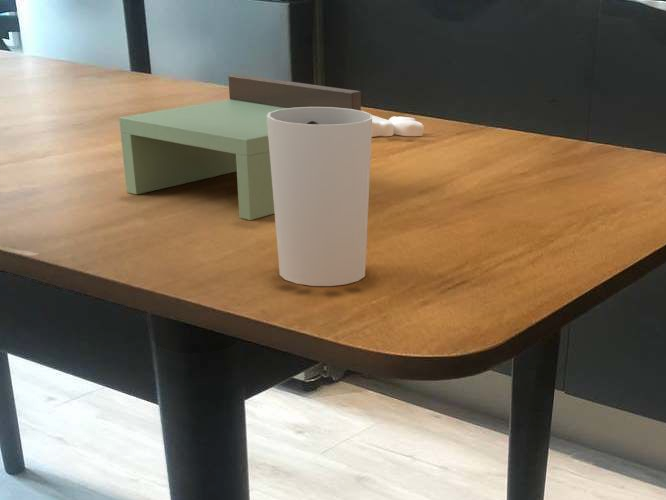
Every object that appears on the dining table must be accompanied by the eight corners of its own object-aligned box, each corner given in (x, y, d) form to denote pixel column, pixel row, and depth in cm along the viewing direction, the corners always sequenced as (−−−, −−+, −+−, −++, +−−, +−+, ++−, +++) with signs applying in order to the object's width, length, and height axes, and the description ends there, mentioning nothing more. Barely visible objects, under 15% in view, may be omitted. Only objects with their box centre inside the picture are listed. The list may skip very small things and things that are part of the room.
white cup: (252, 276, 72) (244, 116, 67) (312, 253, 76) (308, 103, 72) (334, 294, 69) (332, 129, 64) (391, 269, 74) (393, 114, 69)
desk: (250, 220, 84) (245, 111, 80) (126, 192, 91) (115, 90, 87) (361, 189, 94) (361, 91, 90) (242, 166, 101) (237, 74, 97)
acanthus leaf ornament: (423, 137, 116) (424, 118, 115) (364, 140, 114) (364, 122, 113) (396, 124, 122) (397, 106, 121) (339, 127, 119) (339, 109, 119)
